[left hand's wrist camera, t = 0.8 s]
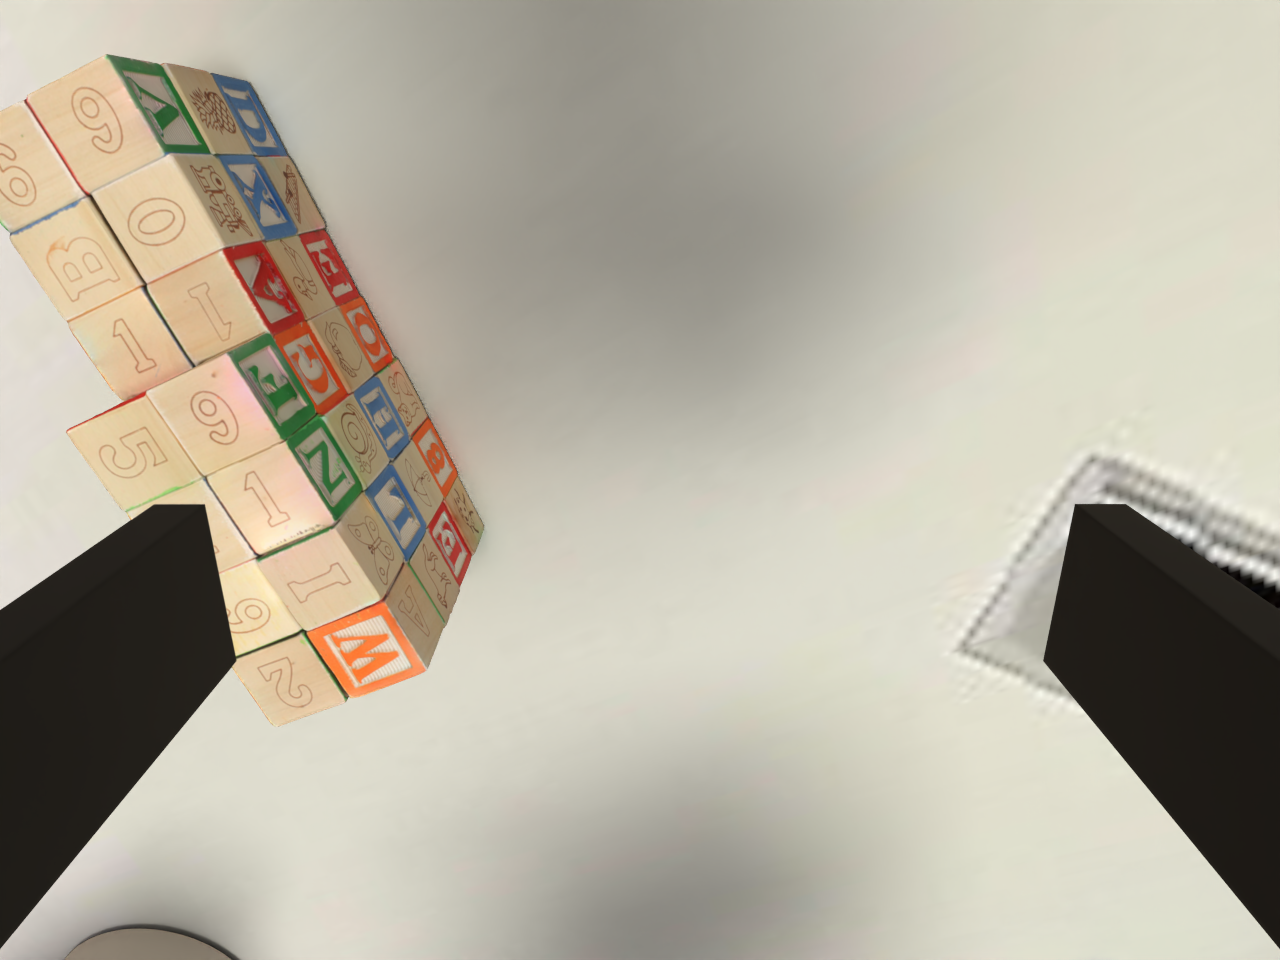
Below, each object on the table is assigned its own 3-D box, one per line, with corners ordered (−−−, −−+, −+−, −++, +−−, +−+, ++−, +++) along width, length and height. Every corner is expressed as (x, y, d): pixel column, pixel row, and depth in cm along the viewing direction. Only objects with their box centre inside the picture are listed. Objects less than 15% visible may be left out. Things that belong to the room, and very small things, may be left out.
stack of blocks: (120, 143, 34) (-152, 131, 22) (251, 77, 33) (39, 29, 21) (376, 574, 41) (271, 735, 29) (489, 529, 40) (427, 678, 28)
